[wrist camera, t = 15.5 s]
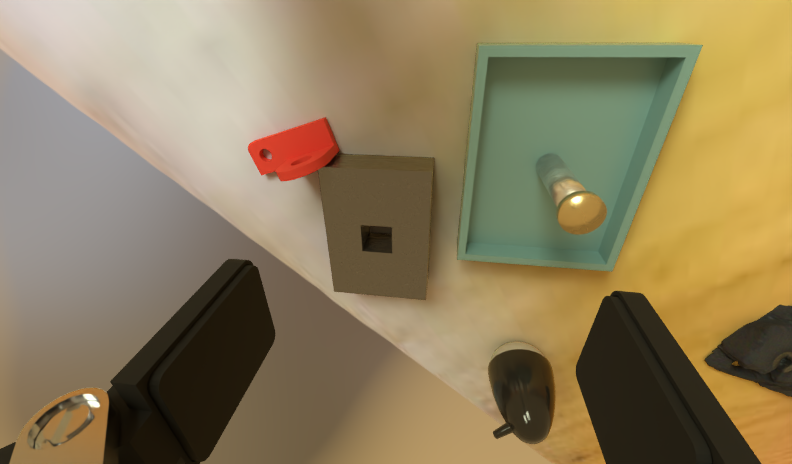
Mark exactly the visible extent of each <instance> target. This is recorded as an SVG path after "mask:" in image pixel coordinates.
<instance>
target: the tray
mask: <svg viewBox="0 0 792 464" xmlns="http://www.w3.org/2000/svg"><path fill="white" fill-rule="evenodd" d="M702 46H703V45H696V44H685V43H477V48H476V58H475V68H474V78H473V88H472V98H471V108H470V118H469V128H468V139H467V149H466V159H465V169H464V179H463V189H462V199H461V209H460V219H459V229H458V239H457V260H469V261H482V262H495V263H508V264H521V265H534V266H547V267H560V268H574V269H587V270H600V271H613V268H614V266H615V263H616V261H617V258H618V256H619V253H620V251H621V248H622V246H623V243H624V241H625V238H626V236H627V233H628V231H629V228H630V226H631V223H632V221H633V218H634V216H635V213H636V211H637V208H638V206H639V203H640V201H641V198H642V196H643V193H644V191H645V188H646V186H647V183H648V181H649V178H650V176H651V173H652V171H653V168H654V166H655V163H656V161H657V158H658V156H659V153H660V151H661V148H662V146H663V143H664V141H665V138H666V136H667V133H668V131H669V128H670V126H671V123H672V121H673V118H674V116H675V113H676V111H677V108H678V106H679V103H680V101H681V98H682V96H683V93H684V91H685V88H686V86H687V83H688V81H689V78H690V76H691V73H692V71H693V68H694V66H695V63H696V61H697V58H698V56H699V53H700V51H701V48H702ZM548 153H554V154H557V155H558V156H560V158H561V159H562V160H563V161H564V163H565V164H566V165H567V167H568V168H569V169H570V170H571V172H572V173H573V174H574V175H575V177H576V178H577V179H578V181H579V182H580V183H581V184H582V186H583V187H584V188H585V189H586V191H590V192H593V193H595V194H597V195H598V196H599V197H600V198H601V200H602V201H603V202H604V203H605V205H606V208H607V215H606V218H605V220H604V222H603V223H602V224H601V225H600V226H599V227H598V228H597V229H595V230H594V231H592V232H589V233H586V234H580V235H576V234H571V233H568V232H566V231H565V230H563V229H562V227H561V226H560V224H559V222H558V220H557V218H556V208H557V207H556V205H555V203H554V201H553V199H552V198H551V196H550V194H549V192H548V190H547V189H546V187H545V185H544V183H543V181H542V180H541V178H540V176H539V174H538V172H537V170H536V163H537V161H538V159H539V158H540V157H541V156H543V155H545V154H548Z"/></svg>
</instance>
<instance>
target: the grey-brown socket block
mask: <svg viewBox="0 0 792 464" xmlns="http://www.w3.org/2000/svg"><path fill="white" fill-rule="evenodd" d="M433 171H434V158H428V157H403V156H378V155H352V154H336V155H335V156H334V157H333V158H332V159H331V161H330V162H329V163H328V164H326V165H325V166H324V167H322V168H320V169H318V174H319V182H320V189H321V197H322V204H323V212H324V219H325V227H326V234H327V242H328V249H329V256H330V264H331V271H332V279H333V286H334V291H335V292H345V293H356V294H367V295H378V296H389V297H399V298H410V299H421V300H426V293H427V284H428V269H429V250H430V230H431V210H432V190H433ZM370 226H382V227H392V234H383V233H370Z"/></svg>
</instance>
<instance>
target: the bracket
mask: <svg viewBox="0 0 792 464" xmlns="http://www.w3.org/2000/svg"><path fill="white" fill-rule="evenodd" d="M263 149H267V150H268V151H270V153H271V154H272V159H267V158H266V157H265V156H264V155H263ZM248 151H249V153H250V155H251V157H252V159H253V161H254V162H255V164H256V166H257V168H258V170H259V172H260V174H261V175H264V174H267V173H271V172H274V171H276V173H277V175H278V177H279V179H280V180H281V181H289V180H294V179H297V178H300V177H303V176H306V175H308V174H310V173H313V172H315V171H317V170H318V169H320V168H322V167H324V166H325V165H326V164H328V163H329V162H330V161H331V159H332V158H333V157H334V156H335V155H336V154H337V153H338V152H339V148H338V146H337V143H336V141H335V139H334V136H333V134H332V131H331V129H330V126H329V124H328V121H327V119H326V117H325V118H322V119H319V120H316V121H313V122H310V123H307V124H304V125H301V126H298V127H295V128H292V129H289V130H286V131H282V132H279V133H276V134H273V135H270V136H267V137H264V138H261V139H258V140H255V141H253V142H252V143H250V144H249V146H248Z"/></svg>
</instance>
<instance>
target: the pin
mask: <svg viewBox="0 0 792 464" xmlns="http://www.w3.org/2000/svg"><path fill="white" fill-rule="evenodd" d="M536 170H537V172H538V174H539V176H540V178H541V180H542V181H543V183H544V185H545V187H546V189H547V190H548V192H549V194H550V196H551V198H552V199H553V201H554V203H555V205H556V207H557V208H556V218H557V220H558V222H559V224H560V226H561V227H562V229H563V230H565V231H566V232H568V233H571V234H576V235H580V234H586V233H589V232H592V231H594V230H595V229H597V228H598V227H599V226H600V225H601V224H602V223H603V222H604V220H605V218H606V215H607V208H606V205H605V203H604V202H603V201H602V200H601V198H600V197H599V196H598V195H597V194H595V193H593V192H590V191H586V189H585V188H584V187H583V186H582V184H581V183H580V182H579V181H578V179H577V178H576V177H575V175H574V174H573V173H572V172H571V170H570V169H569V168H568V167H567V165H566V164H565V163H564V161H563V160H562V159H561V158H560V156H558V155H557V154H554V153H548V154H545V155H543V156H541V157H540V158H539V159H538V161H537V163H536Z"/></svg>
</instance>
